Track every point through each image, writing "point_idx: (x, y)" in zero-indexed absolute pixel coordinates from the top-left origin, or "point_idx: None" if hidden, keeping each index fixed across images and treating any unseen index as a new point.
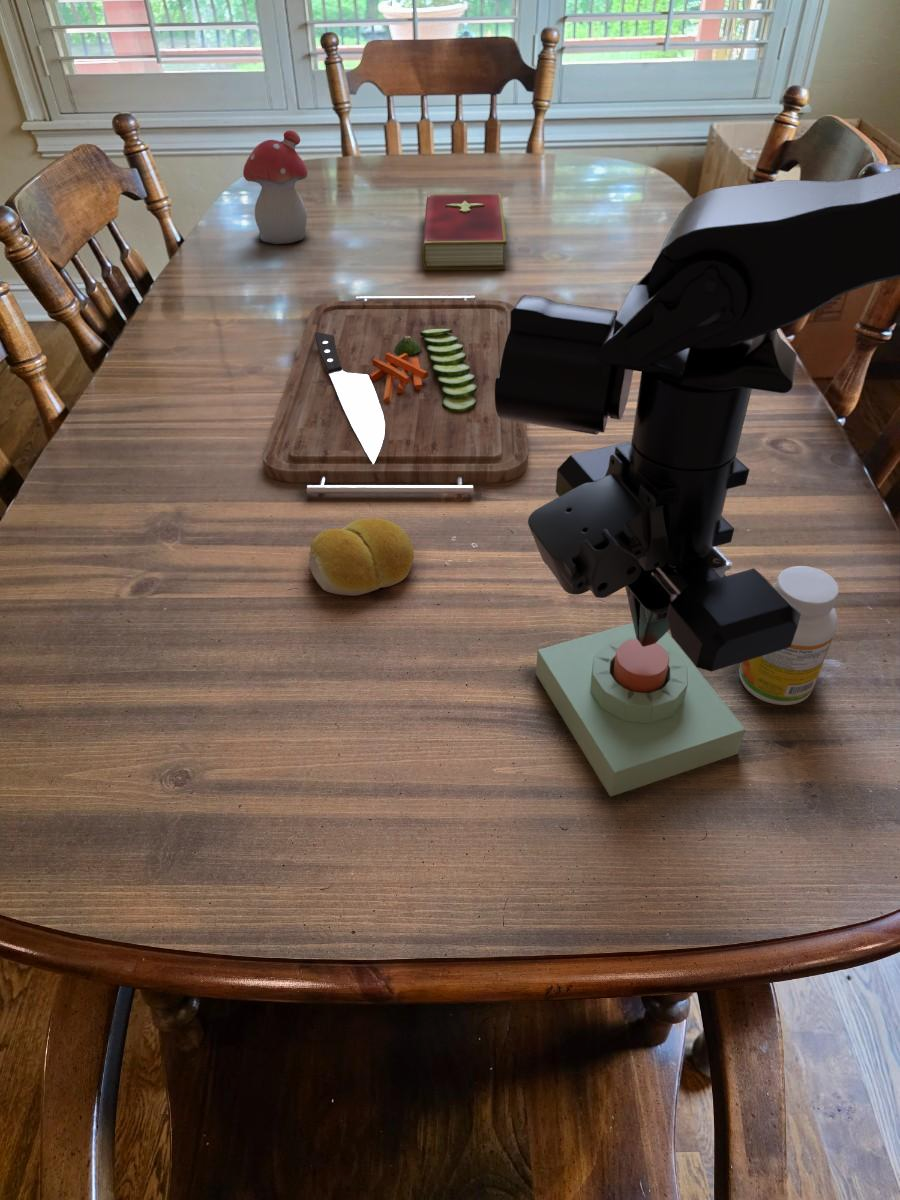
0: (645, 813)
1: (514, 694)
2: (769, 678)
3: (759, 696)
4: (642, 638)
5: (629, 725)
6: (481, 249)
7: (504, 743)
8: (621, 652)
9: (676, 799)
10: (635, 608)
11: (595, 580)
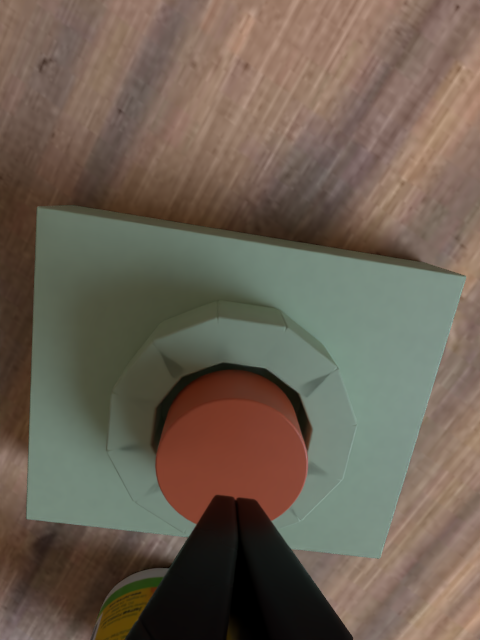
0: (10, 243)
1: (407, 187)
2: (119, 628)
3: (139, 576)
4: (209, 518)
5: (144, 324)
6: None
7: (304, 81)
8: (279, 430)
9: (15, 315)
10: (270, 625)
11: None
